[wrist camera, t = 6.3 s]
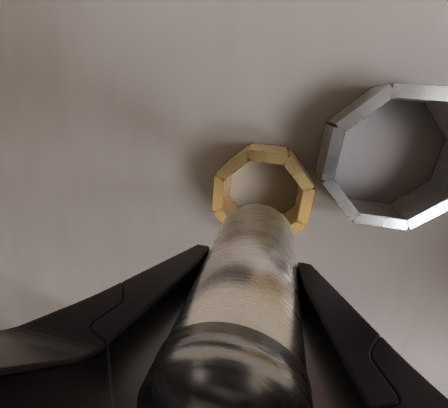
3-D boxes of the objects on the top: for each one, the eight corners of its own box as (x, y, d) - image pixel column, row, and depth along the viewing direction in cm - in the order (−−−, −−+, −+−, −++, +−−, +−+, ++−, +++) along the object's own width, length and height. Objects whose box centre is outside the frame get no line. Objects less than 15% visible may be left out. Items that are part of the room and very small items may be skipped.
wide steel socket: (477, 93, 13) (517, 91, 11) (426, 218, 16) (451, 237, 14) (334, 83, 14) (344, 79, 12) (308, 201, 17) (313, 216, 15)
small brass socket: (316, 150, 16) (322, 157, 14) (298, 232, 18) (301, 251, 16) (225, 139, 17) (216, 145, 14) (218, 219, 19) (210, 235, 17)
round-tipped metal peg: (301, 208, 10) (337, 392, 4) (287, 275, 11) (297, 504, 5) (222, 197, 11) (133, 342, 4) (216, 262, 12) (139, 455, 5)
